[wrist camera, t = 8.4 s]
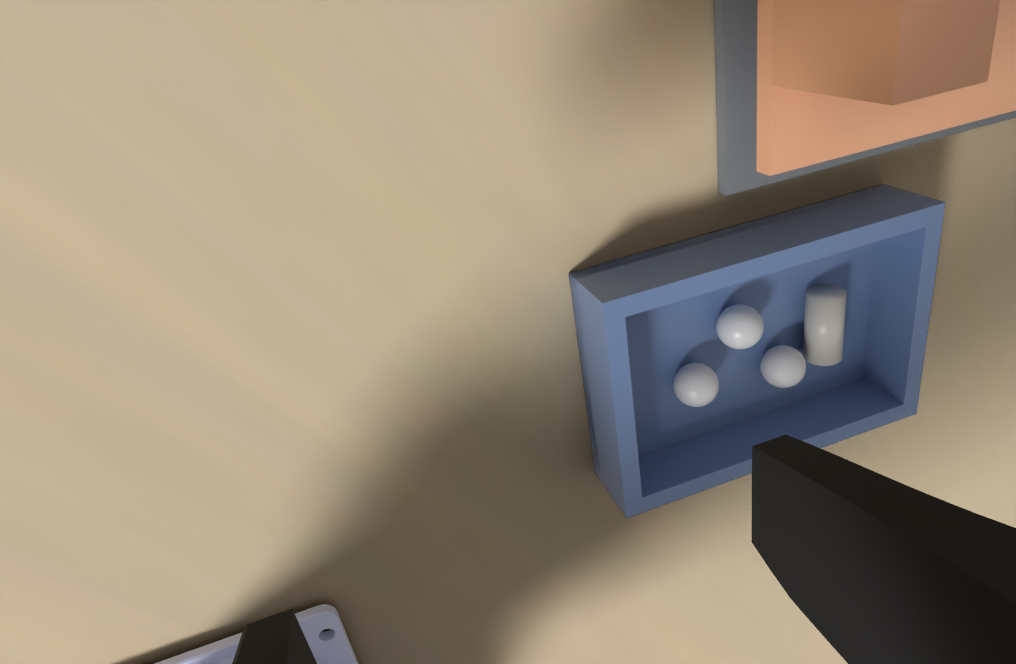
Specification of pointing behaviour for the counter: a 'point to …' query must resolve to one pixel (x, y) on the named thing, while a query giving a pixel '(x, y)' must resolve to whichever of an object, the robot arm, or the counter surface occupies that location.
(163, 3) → the counter surface
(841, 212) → the blue box
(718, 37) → the mat
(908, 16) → the lid
